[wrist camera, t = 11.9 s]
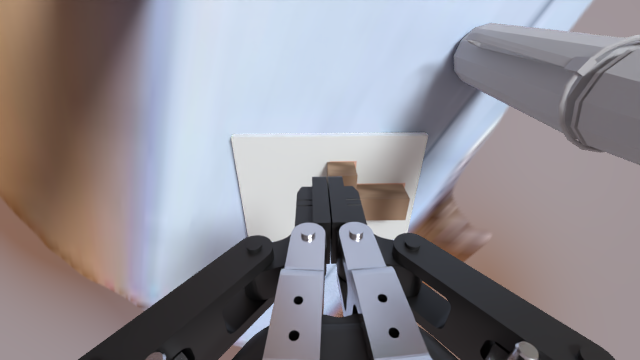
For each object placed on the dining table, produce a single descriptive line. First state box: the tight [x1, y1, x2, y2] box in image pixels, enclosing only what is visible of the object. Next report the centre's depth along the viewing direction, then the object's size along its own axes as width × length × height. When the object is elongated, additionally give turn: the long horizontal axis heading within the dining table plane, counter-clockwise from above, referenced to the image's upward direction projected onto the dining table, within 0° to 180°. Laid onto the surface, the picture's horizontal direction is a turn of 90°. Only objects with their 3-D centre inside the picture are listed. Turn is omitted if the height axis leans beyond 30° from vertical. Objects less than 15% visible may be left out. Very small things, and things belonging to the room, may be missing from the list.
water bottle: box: [454, 23, 640, 165], centre depth 26 cm, size 9×8×25 cm
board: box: [231, 132, 428, 242], centre depth 46 cm, size 28×20×1 cm
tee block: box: [327, 162, 410, 221], centre depth 44 cm, size 12×12×4 cm
